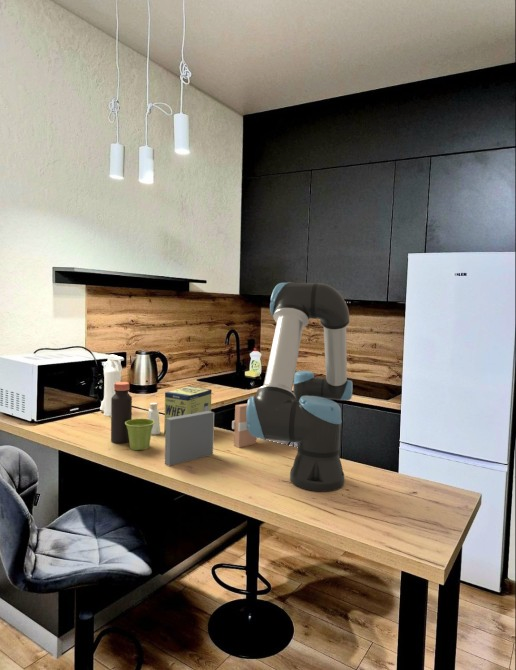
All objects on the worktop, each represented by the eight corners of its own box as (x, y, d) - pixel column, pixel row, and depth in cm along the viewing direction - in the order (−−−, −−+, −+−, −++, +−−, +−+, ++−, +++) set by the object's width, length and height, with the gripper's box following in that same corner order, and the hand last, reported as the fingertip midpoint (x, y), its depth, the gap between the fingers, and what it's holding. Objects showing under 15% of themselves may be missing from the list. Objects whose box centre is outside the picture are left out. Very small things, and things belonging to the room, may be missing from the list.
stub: (251, 441, 168) (252, 402, 167) (256, 443, 166) (257, 403, 165) (234, 445, 162) (235, 405, 161) (238, 447, 161) (240, 406, 159)
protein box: (163, 434, 174) (164, 392, 173) (188, 424, 188) (189, 385, 186) (186, 439, 169) (187, 395, 168) (211, 429, 183) (212, 388, 182)
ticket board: (207, 453, 155) (209, 410, 154) (213, 455, 153) (214, 412, 152) (164, 463, 144) (165, 418, 143) (169, 466, 142) (170, 420, 141)
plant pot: (118, 449, 156) (118, 423, 155) (137, 441, 164) (137, 416, 164) (141, 454, 152) (141, 427, 151) (159, 446, 160) (160, 420, 160)
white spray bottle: (107, 409, 206) (108, 352, 203) (126, 415, 199) (127, 355, 196) (94, 412, 200) (94, 353, 197) (113, 418, 194) (114, 357, 191)
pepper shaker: (148, 435, 171) (149, 405, 171) (143, 431, 176) (143, 402, 175) (162, 433, 174) (163, 404, 173) (157, 430, 179) (158, 401, 178)
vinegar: (112, 444, 160) (112, 385, 159) (109, 438, 166) (110, 381, 165) (132, 442, 163) (133, 384, 161) (129, 436, 169) (130, 380, 168)
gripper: (299, 430, 171) (251, 442, 155) (269, 421, 183) (221, 431, 167) (300, 410, 171) (251, 420, 155) (270, 401, 182) (221, 410, 166)
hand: (236, 426), depth 161 cm, fingers closed on stub, 2 cm apart
